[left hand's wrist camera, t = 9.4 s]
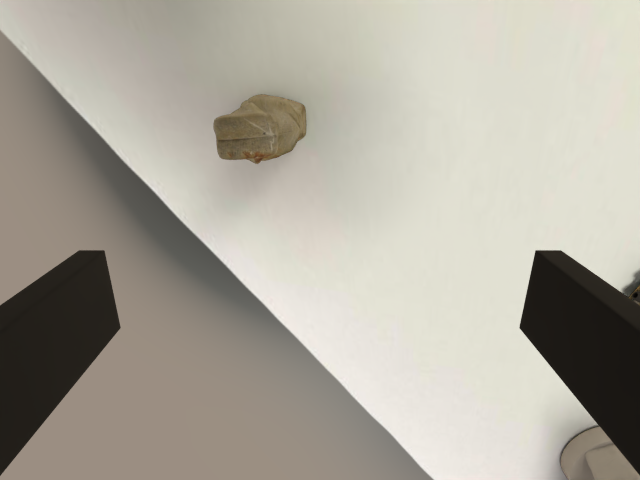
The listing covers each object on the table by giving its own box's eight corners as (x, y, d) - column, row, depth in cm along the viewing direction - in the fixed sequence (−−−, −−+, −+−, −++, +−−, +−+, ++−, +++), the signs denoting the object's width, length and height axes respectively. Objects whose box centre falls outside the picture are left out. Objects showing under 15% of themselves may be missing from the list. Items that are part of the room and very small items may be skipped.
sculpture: (241, 91, 44) (204, 95, 30) (307, 92, 44) (301, 97, 30) (244, 145, 46) (211, 173, 32) (306, 146, 46) (301, 174, 32)
